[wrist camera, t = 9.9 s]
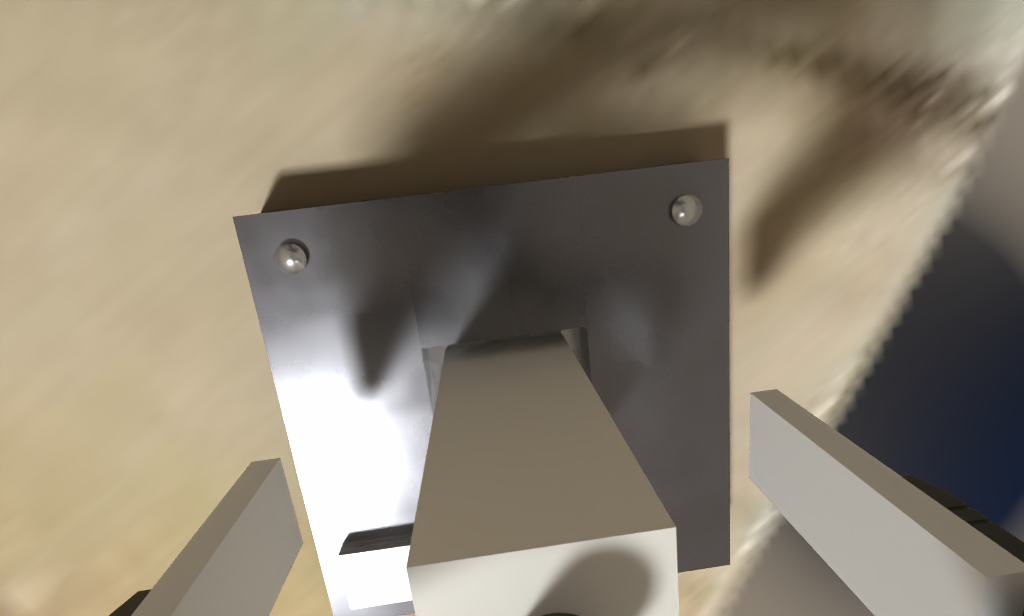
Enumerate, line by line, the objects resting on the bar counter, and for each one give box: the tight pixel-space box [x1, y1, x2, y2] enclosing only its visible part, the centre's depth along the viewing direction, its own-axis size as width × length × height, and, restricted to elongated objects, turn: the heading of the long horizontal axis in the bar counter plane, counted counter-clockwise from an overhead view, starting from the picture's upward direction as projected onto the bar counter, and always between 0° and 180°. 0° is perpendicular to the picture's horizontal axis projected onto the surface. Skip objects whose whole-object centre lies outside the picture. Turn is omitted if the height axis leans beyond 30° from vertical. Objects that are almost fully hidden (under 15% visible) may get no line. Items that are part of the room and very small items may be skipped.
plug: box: [406, 334, 679, 616], centre depth 13 cm, size 4×4×13 cm
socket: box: [233, 158, 730, 616], centre depth 18 cm, size 16×16×3 cm
